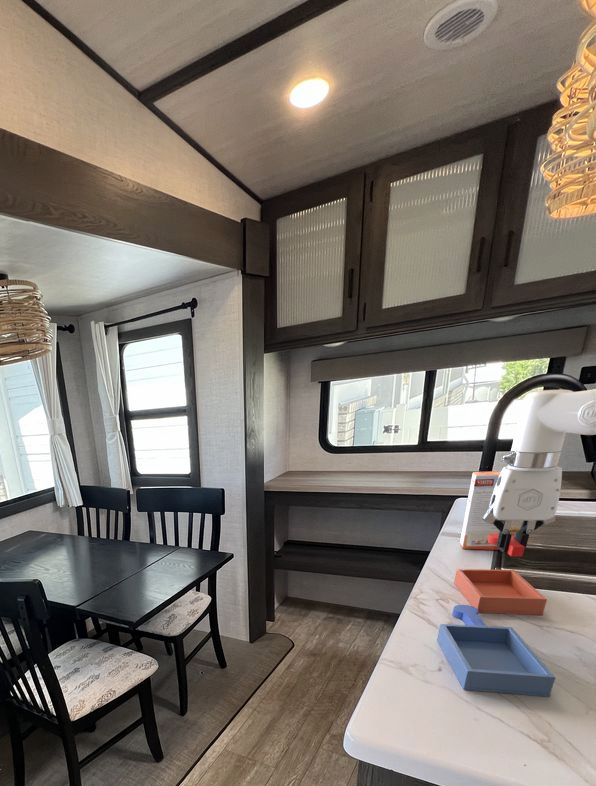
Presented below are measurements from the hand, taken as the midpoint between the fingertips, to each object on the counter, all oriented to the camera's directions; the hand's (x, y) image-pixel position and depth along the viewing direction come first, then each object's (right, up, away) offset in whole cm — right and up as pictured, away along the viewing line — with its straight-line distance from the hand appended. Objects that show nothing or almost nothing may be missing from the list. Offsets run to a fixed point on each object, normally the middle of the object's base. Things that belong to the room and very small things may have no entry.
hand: (509, 550), depth 97 cm
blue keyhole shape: (-10, -15, -2) cm, 18 cm away
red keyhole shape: (+1, +1, +2) cm, 3 cm away
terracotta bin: (+2, -10, +7) cm, 12 cm away
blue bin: (-17, -22, -16) cm, 32 cm away
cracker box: (+22, +4, +35) cm, 41 cm away
